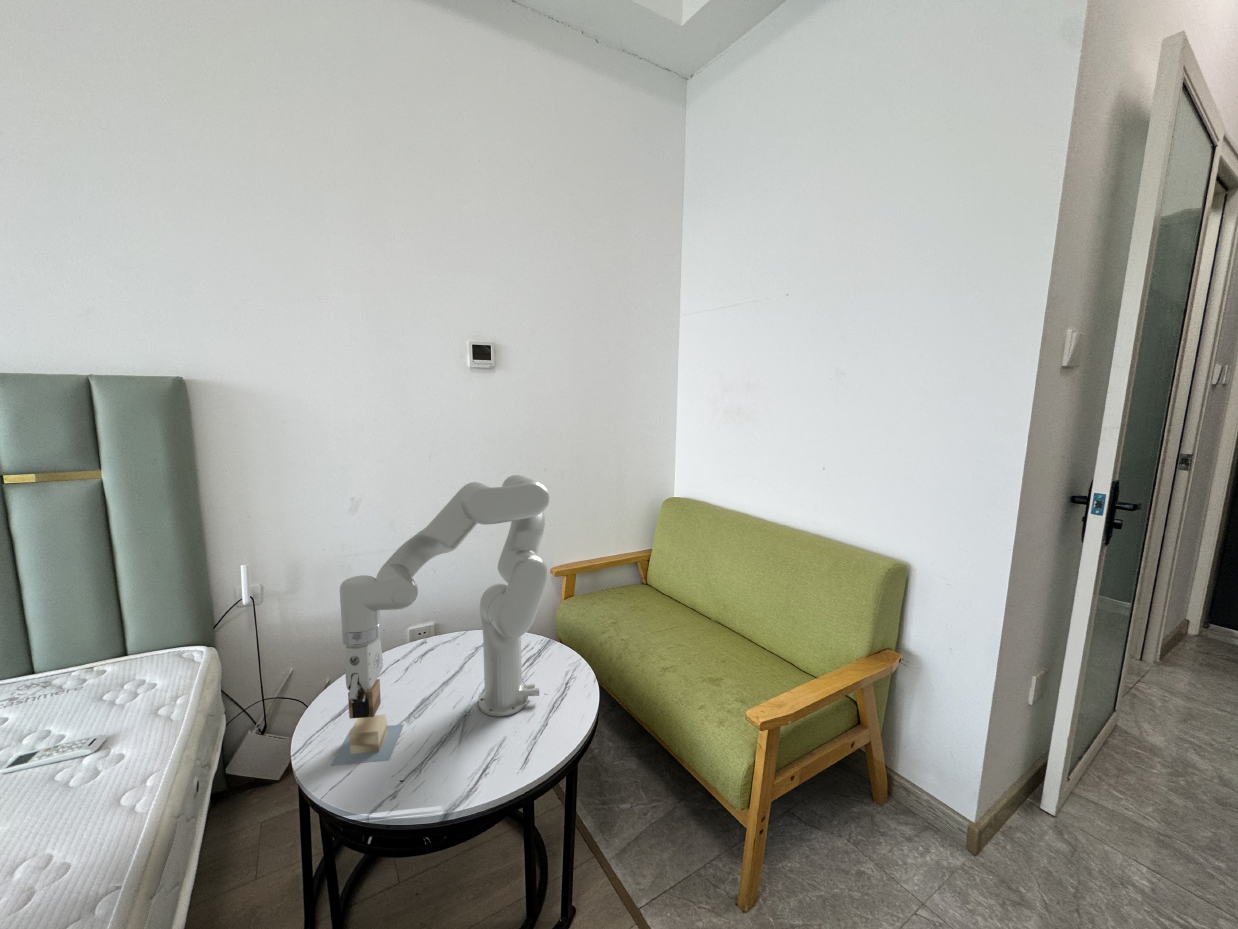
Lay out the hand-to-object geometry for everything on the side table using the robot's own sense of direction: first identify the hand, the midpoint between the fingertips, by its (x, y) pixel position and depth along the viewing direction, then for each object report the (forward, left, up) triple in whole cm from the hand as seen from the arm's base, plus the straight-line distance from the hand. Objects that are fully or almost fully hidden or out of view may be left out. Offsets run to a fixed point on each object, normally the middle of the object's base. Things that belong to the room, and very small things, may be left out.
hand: (365, 708), depth 113 cm
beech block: (0, 0, -9) cm, 9 cm away
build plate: (0, 0, -10) cm, 10 cm away
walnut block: (0, 0, -1) cm, 1 cm away
